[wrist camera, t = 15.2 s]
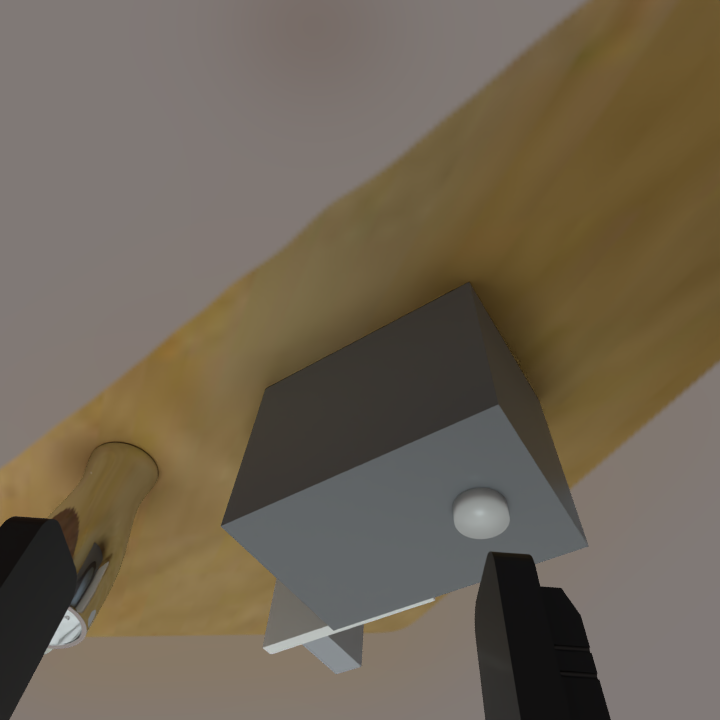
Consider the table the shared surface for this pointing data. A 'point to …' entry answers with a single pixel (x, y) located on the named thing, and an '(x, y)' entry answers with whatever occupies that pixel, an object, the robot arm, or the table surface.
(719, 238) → the table surface
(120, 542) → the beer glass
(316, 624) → the side door
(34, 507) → the table surface
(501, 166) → the table surface
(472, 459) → the box
